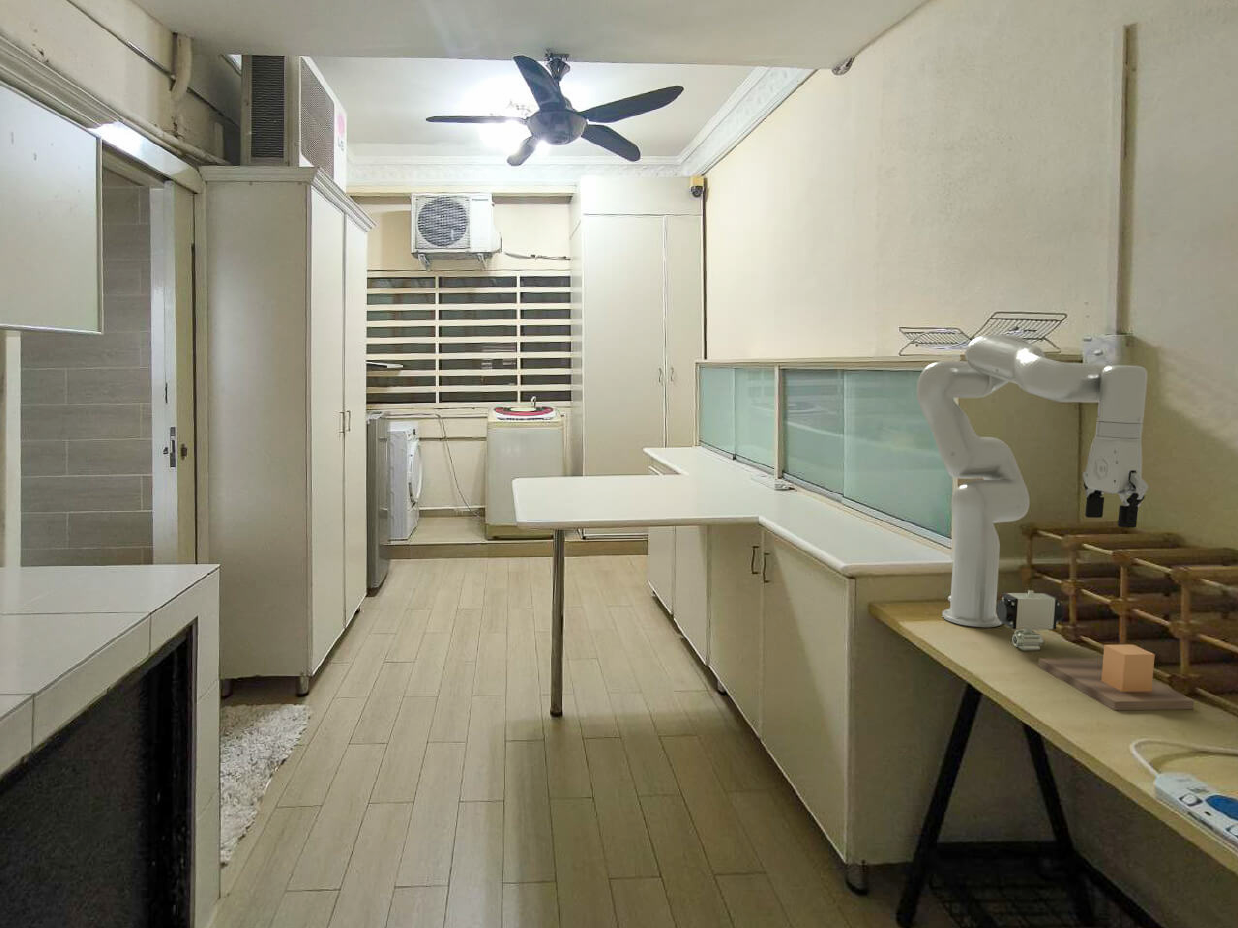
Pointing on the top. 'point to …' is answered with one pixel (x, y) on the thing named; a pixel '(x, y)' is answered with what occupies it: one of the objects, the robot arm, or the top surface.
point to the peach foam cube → (1128, 668)
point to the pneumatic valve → (1029, 616)
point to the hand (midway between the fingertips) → (1109, 522)
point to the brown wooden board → (1088, 680)
